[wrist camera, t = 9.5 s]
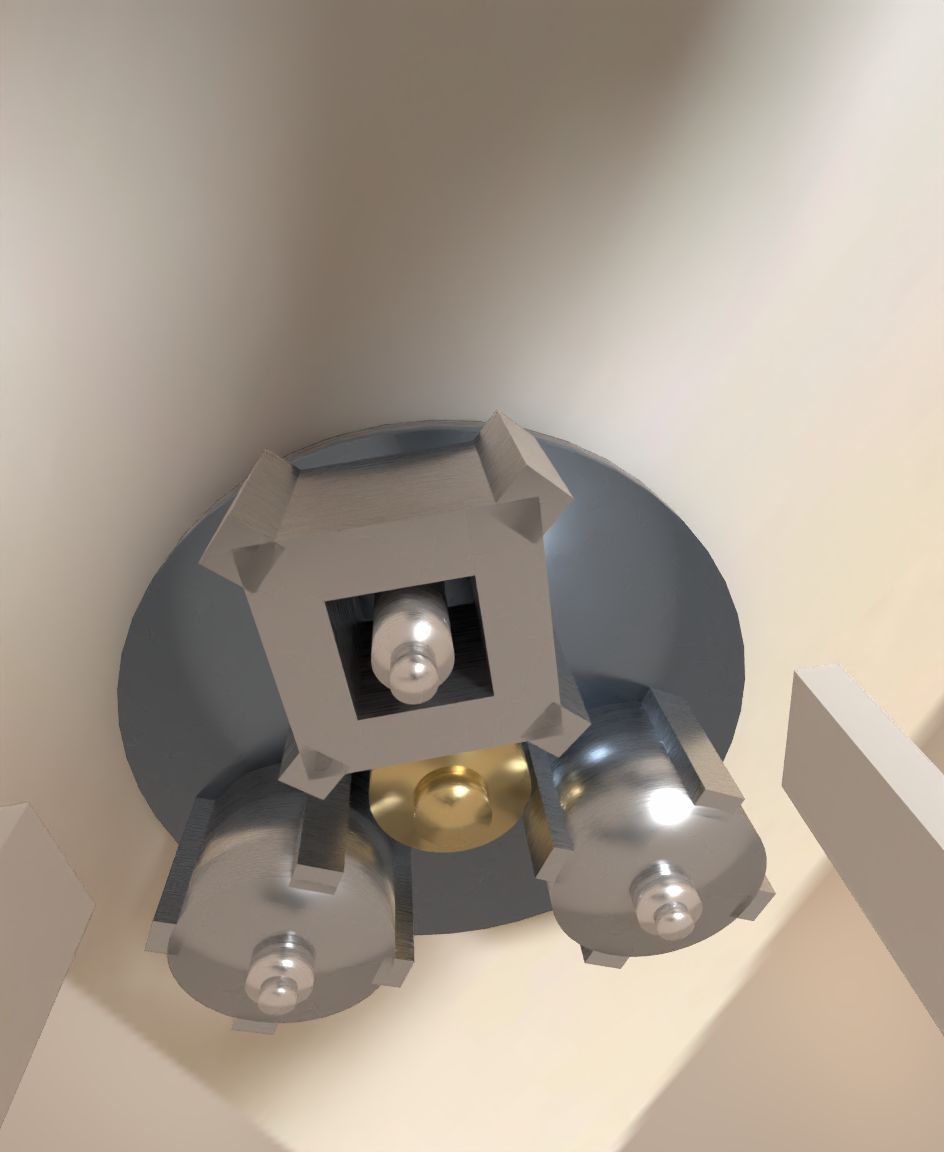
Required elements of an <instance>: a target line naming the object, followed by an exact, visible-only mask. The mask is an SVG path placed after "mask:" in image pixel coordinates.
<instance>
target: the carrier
mask: <svg viewBox="0 0 944 1152" xmlns="http://www.w3.org/2000/svg"><path fill="white" fill-rule="evenodd" d="M486 423H487V422H481V421H454V420H425V421H416V422H406V423H396V424H387V425H381V426H376V427H372V428H368V429H364V430H359V431H355V432H351V433H347V434H343V435H338V436H335V437H333V438H330V439H327V440H325V441H322V442H319V443H317V444H314V445H312V446H309V447H306V448H304V449H301V450H299V451H296V452H293V453H291V454H289V455H288V456H286V457H284V458H283V459H284V460H286V461H288V462H289V463H291V464H292V465H294V466H296V467H297V468H299V469H300V470H303V469H309V468H315V467H321V466H327V465H333V464H339V463H345V462H351V461H356V460H362V459H368V458H374V457H380V456H386V455H392V454H398V453H404V452H410V451H416V450H422V449H428V448H433V447H439V446H445V445H451V444H457V443H463V442H469V441H473V440H474V439H475V438H476V436H477V435H478V434H479V432H480V431H481V430H482V428H483V427H484V426H485V424H486ZM523 429H524V430H525V431H527V432H528V433H530V434H531V435H532V436H534V437H535V439H536V440H537V442H538V443H539V445H540V446H541V448H542V450H543V451H544V453H545V454H546V456H547V457H548V459H549V460H550V462H551V464H552V465H553V467H554V468H555V470H556V471H557V473H558V474H559V476H560V478H561V479H562V481H563V482H564V484H565V485H566V487H567V488H568V490H569V492H570V493H571V495H572V496H573V498H574V499H573V501H572V502H571V503H570V504H569V506H568V507H567V508H566V509H565V510H564V512H563V513H562V514H561V515H560V516H559V518H558V519H557V520H556V521H555V522H554V524H553V525H552V526H551V527H550V528H549V530H548V531H547V532H546V533H545V534H544V536H543V539H544V549H545V559H546V569H547V578H548V588H549V598H550V607H551V617H552V627H554V629H555V632H556V634H557V637H558V639H559V642H560V644H561V647H562V650H563V652H564V655H565V657H566V660H567V662H568V665H569V667H570V670H571V673H572V675H573V678H574V680H575V683H576V685H577V688H578V690H579V693H580V695H581V698H582V701H583V703H584V706H585V708H586V711H587V713H588V716H589V718H590V721H591V725H590V726H589V727H588V728H587V729H586V730H585V731H584V732H583V733H582V734H581V735H580V736H579V737H578V738H577V740H576V741H575V742H574V743H573V744H572V745H571V746H570V747H569V748H568V749H567V750H566V751H565V752H564V753H563V754H562V755H561V756H560V757H559V758H558V757H556V756H555V755H553V754H551V753H549V752H547V751H545V750H543V749H542V748H540V747H538V746H536V745H534V744H532V743H530V742H529V741H526V742H520V743H515V744H509V745H503V746H498V747H492V748H487V749H481V750H476V751H470V752H464V753H459V754H453V755H448V756H442V757H437V758H431V759H425V760H420V761H414V762H409V763H403V764H398V765H392V766H386V767H381V768H375V769H370V770H364V771H358V772H353V773H347V774H345V775H344V776H343V777H342V778H341V780H340V781H339V782H338V783H337V784H336V786H335V787H334V788H333V789H332V790H331V792H330V793H329V794H328V795H327V796H326V798H325V799H324V800H322V799H320V798H317V797H315V796H313V795H310V794H308V793H306V792H304V791H301V790H299V789H297V788H295V787H292V786H290V785H288V784H286V783H283V782H281V781H279V780H278V778H279V773H280V768H281V763H282V758H283V753H284V749H285V744H286V739H287V734H288V729H289V724H290V723H289V720H288V717H287V714H286V711H285V708H284V705H283V702H282V700H281V697H280V694H279V691H278V688H277V685H276V682H275V679H274V676H273V673H272V670H271V667H270V664H269V661H268V658H267V655H266V653H265V650H264V647H263V644H262V641H261V638H260V635H259V632H258V629H257V626H256V623H255V620H254V617H253V614H252V611H251V608H250V605H249V603H248V600H247V597H246V594H245V591H244V588H243V587H241V586H239V585H238V584H236V583H234V582H232V581H230V580H228V579H226V578H225V577H223V576H221V575H219V574H217V573H215V572H213V571H212V570H210V569H208V568H206V567H204V566H202V565H200V564H199V563H198V562H199V561H200V559H201V557H202V555H203V554H204V552H205V550H206V548H207V547H208V545H209V543H210V541H211V540H212V538H213V536H214V534H215V533H216V531H217V529H218V527H219V525H220V524H221V522H222V520H223V518H224V517H225V515H226V513H227V511H228V510H229V508H230V506H231V504H232V503H233V501H234V499H235V497H236V496H237V494H238V492H239V490H240V488H241V487H242V485H243V484H244V482H245V481H243V482H242V483H240V484H239V485H238V486H236V487H235V488H234V489H232V490H231V491H230V492H228V493H227V494H226V495H224V496H223V497H222V498H220V499H219V500H218V501H216V502H215V503H214V504H213V505H212V506H211V507H210V508H209V509H208V510H207V511H206V512H205V513H204V514H203V515H202V516H201V517H200V518H199V519H198V520H197V521H196V522H195V523H194V524H193V525H192V526H191V527H190V529H189V530H188V531H187V532H186V533H185V534H184V536H183V537H182V538H181V540H180V541H179V542H178V544H177V545H176V547H175V548H174V549H173V551H172V552H171V553H170V555H169V556H168V558H167V559H166V560H165V562H164V563H163V564H162V566H161V567H160V569H159V570H158V572H157V573H156V575H155V576H154V578H153V579H152V581H151V583H150V585H149V587H148V589H147V590H146V592H145V594H144V596H143V598H142V600H141V602H140V604H139V606H138V608H137V610H136V612H135V614H134V616H133V619H132V622H131V625H130V629H129V632H128V635H127V638H126V642H125V645H124V648H123V651H122V656H121V664H120V672H119V680H118V688H117V693H118V713H119V726H120V731H121V735H122V739H123V744H124V748H125V753H126V757H127V760H128V762H129V765H130V767H131V770H132V772H133V775H134V777H135V780H136V782H137V784H138V787H139V789H140V791H141V792H142V794H143V796H144V797H145V799H146V801H147V802H148V804H149V806H150V807H151V809H152V811H153V812H154V814H155V816H156V817H157V818H158V820H159V821H160V822H161V823H162V824H163V826H164V827H165V828H166V829H167V831H168V832H169V833H170V834H171V835H172V837H173V838H174V839H175V840H176V842H177V843H178V844H179V847H178V850H177V852H176V855H175V858H174V861H173V864H172V867H171V870H170V873H169V876H168V879H167V882H166V885H165V888H164V890H163V893H162V896H161V899H160V902H159V905H158V908H157V911H156V914H155V917H154V920H153V923H152V926H151V930H150V933H149V937H148V940H147V943H146V947H145V950H144V951H150V952H157V953H164V954H167V958H168V963H169V967H170V970H171V972H172V974H173V976H174V978H175V979H176V981H177V982H178V984H179V985H180V986H181V987H182V988H183V989H184V990H185V991H186V993H188V994H189V995H190V996H191V997H193V998H194V999H195V1000H197V1001H198V1002H200V1003H201V1004H203V1005H205V1006H206V1007H209V1008H211V1009H213V1010H215V1011H217V1012H220V1013H223V1014H225V1015H228V1016H232V1017H234V1019H233V1024H232V1029H231V1030H239V1031H247V1032H256V1033H264V1034H272V1035H273V1033H274V1031H275V1028H276V1026H277V1024H278V1023H290V1022H301V1021H308V1020H314V1019H318V1018H322V1017H326V1016H329V1015H332V1014H335V1013H338V1012H341V1011H343V1010H345V1009H348V1008H350V1007H352V1006H354V1005H355V1004H357V1003H359V1002H361V1001H362V1000H364V999H365V998H367V997H368V996H369V995H371V994H372V993H373V992H374V991H375V990H376V989H377V988H378V987H379V986H380V985H386V986H393V987H401V985H402V983H403V981H404V979H405V977H406V976H407V974H408V972H409V970H410V968H411V966H412V964H413V963H414V940H413V935H432V934H449V933H458V932H465V931H472V930H479V929H486V928H490V927H495V926H499V925H503V924H508V923H512V922H516V921H520V920H523V919H526V918H529V917H532V916H535V915H539V914H542V913H545V912H548V911H551V910H553V912H554V916H555V918H556V920H557V922H558V924H559V926H560V927H561V928H562V930H563V931H564V932H565V933H566V934H567V935H568V936H569V937H570V938H571V939H573V940H574V941H576V942H577V943H579V944H580V946H581V950H582V954H583V958H584V962H585V963H588V964H594V965H600V966H606V967H612V968H618V969H621V968H622V966H623V965H624V964H625V962H626V961H627V959H628V958H629V957H638V956H651V955H658V954H663V953H668V952H672V951H676V950H679V949H682V948H685V947H688V946H691V945H693V944H696V943H698V942H700V941H702V940H704V939H706V938H708V937H710V936H712V935H714V934H715V933H717V932H719V931H720V930H722V929H723V928H725V927H726V926H727V925H729V924H730V923H731V922H733V921H734V920H735V919H736V918H740V919H745V920H751V921H754V920H755V919H756V917H757V916H758V915H759V914H760V912H761V911H762V910H763V909H764V908H765V906H766V905H767V904H768V903H769V901H770V900H771V899H772V898H773V897H774V895H775V894H776V893H775V891H774V890H773V888H772V886H771V884H770V882H769V881H768V879H767V877H766V875H765V872H766V853H765V848H764V846H763V843H762V841H761V839H760V837H759V835H758V834H757V832H756V830H755V829H754V827H753V825H752V823H751V822H750V820H749V818H748V817H747V815H746V813H745V812H744V810H743V808H742V807H741V804H742V802H743V801H744V799H745V798H744V797H743V795H742V793H741V792H740V790H739V788H738V787H737V785H736V783H735V782H734V780H733V778H732V777H731V775H730V773H729V772H728V770H727V768H726V767H725V765H724V764H723V761H724V758H725V756H726V754H727V752H728V749H729V747H730V745H731V743H732V740H733V736H734V733H735V729H736V726H737V722H738V719H739V715H740V712H741V705H742V697H743V690H744V682H745V667H744V645H743V639H742V634H741V629H740V624H739V619H738V614H737V611H736V609H735V606H734V603H733V601H732V598H731V595H730V593H729V590H728V587H727V585H726V582H725V580H724V578H723V577H722V575H721V573H720V572H719V570H718V568H717V566H716V565H715V563H714V561H713V559H712V558H711V556H710V554H709V553H708V551H707V550H706V548H705V547H704V546H703V545H702V543H701V542H700V541H699V540H698V539H697V537H696V536H695V535H694V534H693V533H692V531H691V530H690V529H689V528H688V526H687V525H686V524H685V523H684V522H683V520H682V519H681V518H680V517H679V516H678V515H677V514H676V513H675V512H674V511H673V510H672V509H671V508H670V507H669V506H668V505H667V504H666V503H664V502H663V501H662V500H661V499H660V498H659V497H658V496H657V495H655V494H654V493H653V492H652V491H651V490H650V489H649V488H648V487H646V486H645V485H644V484H643V483H642V482H641V481H639V480H638V479H636V478H635V477H633V476H632V475H630V474H628V473H627V472H625V471H624V470H622V469H621V468H619V467H618V466H616V465H615V464H613V463H611V462H610V461H608V460H607V459H605V458H603V457H600V456H598V455H596V454H594V453H592V452H590V451H587V450H585V449H583V448H581V447H579V446H577V445H574V444H572V443H570V442H568V441H565V440H561V439H558V438H555V437H551V436H548V435H545V434H541V433H538V432H535V431H531V430H528V429H525V428H523ZM358 597H359V601H360V605H361V609H362V613H363V616H364V620H365V621H369V620H373V634H372V653H371V664H372V669H373V672H374V674H375V675H376V677H377V678H378V680H379V681H380V682H381V683H382V684H383V685H385V686H386V687H388V688H389V689H391V692H392V694H393V695H394V697H395V698H396V699H398V700H399V701H401V702H403V703H406V704H420V703H424V702H426V701H428V700H429V699H431V698H432V697H433V696H434V695H435V693H436V691H437V689H438V686H439V685H441V684H442V683H443V682H444V681H445V680H446V679H447V678H448V676H449V675H450V673H451V671H452V669H453V666H454V659H455V657H454V649H453V642H452V634H451V627H450V620H449V613H448V607H449V606H455V605H461V604H467V603H472V602H474V596H473V590H472V584H471V577H470V576H468V577H462V578H457V579H451V580H445V581H439V582H434V583H428V584H422V585H416V586H411V587H405V588H399V589H393V590H387V591H382V592H376V593H370V594H364V595H359V596H358Z"/></svg>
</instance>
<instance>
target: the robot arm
mask: <svg viewBox="0 0 944 1152" xmlns="http://www.w3.org/2000/svg"><path fill="white" fill-rule="evenodd" d="M782 787H783V789H784V790H785V792H786V793H787V795H788V796H789V798H790V800H791V801H792V803H793V804H794V806H795V807H796V809H797V810H798V812H799V813H800V815H801V817H802V818H803V820H804V821H805V823H806V824H807V826H808V827H809V829H810V830H811V832H812V833H813V835H814V837H815V838H816V840H817V841H818V843H819V844H820V846H821V847H822V849H823V850H824V852H825V854H826V855H827V857H828V858H829V860H830V861H831V863H832V864H833V866H834V867H835V869H836V871H837V872H838V873H839V875H840V877H841V878H842V880H843V881H844V883H845V884H846V886H847V887H848V889H849V891H850V892H851V894H852V895H853V897H854V898H855V900H856V901H857V903H858V904H859V906H860V908H861V909H862V911H863V912H864V914H865V915H866V917H867V918H868V920H869V921H870V923H871V924H872V926H873V928H874V929H875V931H876V932H877V934H878V935H879V937H880V938H881V940H882V941H883V943H884V945H885V946H886V948H887V949H888V951H889V952H890V954H891V955H892V957H893V958H894V960H895V962H896V963H897V965H898V966H899V967H900V969H901V971H902V972H903V974H904V975H905V977H906V978H907V980H908V982H909V983H910V985H911V986H912V988H913V989H914V991H915V992H916V994H917V995H918V997H919V999H920V1000H921V1002H922V1003H923V1005H924V1006H925V1008H926V1009H927V1011H928V1012H929V1014H930V1016H931V1017H932V1019H933V1020H934V1022H935V1023H936V1024H937V1026H938V1028H939V1029H940V1031H941V1032H942V1034H943V1036H944V775H943V774H942V773H941V772H940V771H939V770H938V768H937V767H936V766H935V765H934V764H933V763H932V762H931V761H930V760H929V759H928V758H927V757H926V756H925V755H924V754H923V752H922V751H921V750H920V749H919V748H918V747H917V746H916V745H915V744H914V743H913V742H912V741H911V740H910V739H909V738H908V737H907V735H906V734H905V733H904V732H903V731H902V730H901V729H900V728H899V727H898V726H897V725H896V724H895V723H894V722H893V721H892V720H891V718H890V717H889V716H888V715H887V714H886V713H885V712H884V711H883V710H882V709H881V708H880V707H879V706H878V705H877V704H876V702H875V701H874V700H873V699H872V698H871V697H870V696H869V695H868V694H867V693H866V692H865V691H864V690H863V689H862V688H861V687H860V685H859V684H858V683H857V682H856V681H855V680H854V679H853V678H852V677H851V676H850V675H849V674H848V673H847V672H846V671H845V670H844V668H843V667H842V666H841V665H840V664H839V663H834V664H829V665H823V666H817V667H811V668H805V669H799V670H794V677H793V686H792V695H791V705H790V714H789V723H788V732H787V741H786V751H785V760H784V769H783V778H782ZM95 906H96V905H95V903H94V902H93V900H92V899H91V897H90V895H89V894H88V892H87V891H86V889H85V888H84V886H83V885H82V883H81V881H80V880H79V878H78V877H77V875H76V874H75V872H74V871H73V869H72V867H71V866H70V864H69V863H68V861H67V860H66V858H65V857H64V855H63V853H62V852H61V850H60V849H59V847H58V846H57V844H56V843H55V841H54V839H53V838H52V836H51V835H50V833H49V832H48V830H47V828H46V827H45V825H44V824H43V822H42V821H41V819H40V818H39V816H38V814H37V813H36V811H35V810H34V808H33V807H32V805H31V804H30V802H26V803H20V804H15V805H9V806H3V807H0V1128H1V1125H2V1123H3V1121H4V1118H5V1116H6V1114H7V1111H8V1109H9V1107H10V1104H11V1102H12V1100H13V1097H14V1095H15V1093H16V1090H17V1088H18V1086H19V1083H20V1081H21V1079H22V1076H23V1074H24V1072H25V1069H26V1067H27V1065H28V1062H29V1060H30V1058H31V1055H32V1053H33V1050H34V1048H35V1046H36V1044H37V1041H38V1039H39V1037H40V1034H41V1032H42V1030H43V1027H44V1025H45V1023H46V1020H47V1018H48V1016H49V1013H50V1011H51V1008H52V1006H53V1004H54V1002H55V999H56V997H57V995H58V992H59V990H60V988H61V985H62V983H63V981H64V978H65V976H66V974H67V971H68V969H69V967H70V964H71V962H72V960H73V957H74V955H75V953H76V950H77V948H78V946H79V943H80V941H81V939H82V936H83V934H84V932H85V929H86V927H87V925H88V922H89V920H90V918H91V915H92V913H93V911H94V908H95Z"/></svg>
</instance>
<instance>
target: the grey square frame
mask: <svg viewBox="0 0 944 1152" xmlns="http://www.w3.org/2000/svg"><path fill="white" fill-rule="evenodd" d="M573 499H574V498H573V496H572V495H571V493H570V492H569V490H568V488H567V487H566V485H565V484H564V482H563V481H562V479H561V478H560V476H559V474H558V473H557V471H556V470H555V468H554V467H553V465H552V464H551V462H550V460H549V459H548V457H547V456H546V454H545V453H544V451H543V450H542V448H541V446H540V445H539V443H538V442H537V440H536V439H535V437H534V436H532V435H531V434H530V433H528V432H527V431H525V430H524V429H523V428H521V427H520V426H519V425H517V424H516V423H515V422H513V421H512V420H511V419H509V418H508V417H507V416H505V415H504V414H502V413H501V412H500V411H498V410H496V411H495V412H494V414H493V415H492V416H491V418H490V419H489V420H488V422H487V423H486V424H485V426H484V427H483V428H482V430H481V431H480V432H479V434H478V435H477V436H476V438H475V439H474V440H473V441H469V442H463V443H457V444H451V445H445V446H439V447H433V448H428V449H422V450H416V451H410V452H404V453H398V454H392V455H386V456H380V457H374V458H368V459H362V460H356V461H351V462H345V463H339V464H333V465H327V466H321V467H315V468H309V469H303V470H300V469H299V468H297V467H296V466H294V465H292V464H291V463H289V462H288V461H286V460H284V459H283V458H281V457H279V456H278V455H276V454H275V453H273V452H271V451H270V450H268V449H267V448H266V449H265V450H264V452H263V454H262V455H261V457H260V458H259V460H258V461H257V463H256V465H255V466H254V468H253V469H252V471H251V472H250V474H249V476H248V477H247V479H246V480H245V482H244V484H243V485H242V487H241V488H240V490H239V492H238V494H237V496H236V497H235V499H234V501H233V503H232V504H231V506H230V508H229V510H228V511H227V513H226V515H225V517H224V518H223V520H222V522H221V524H220V525H219V527H218V529H217V531H216V533H215V534H214V536H213V538H212V540H211V541H210V543H209V545H208V547H207V548H206V550H205V552H204V554H203V555H202V557H201V559H200V561H199V562H198V563H199V564H200V565H202V566H204V567H206V568H208V569H210V570H212V571H213V572H215V573H217V574H219V575H221V576H223V577H225V578H226V579H228V580H230V581H232V582H234V583H236V584H238V585H239V586H241V587H243V588H244V591H245V594H246V597H247V600H248V603H249V605H250V608H251V611H252V614H253V617H254V620H255V623H256V626H257V629H258V632H259V635H260V638H261V641H262V644H263V647H264V650H265V653H266V655H267V658H268V661H269V664H270V667H271V670H272V673H273V676H274V679H275V682H276V685H277V688H278V691H279V694H280V697H281V700H282V702H283V705H284V708H285V711H286V714H287V717H288V720H289V723H290V724H289V729H288V734H287V739H286V744H285V749H284V753H283V758H282V763H281V768H280V773H279V778H278V780H279V781H281V782H283V783H286V784H288V785H290V786H292V787H295V788H297V789H299V790H301V791H304V792H306V793H308V794H310V795H313V796H315V797H317V798H320V799H322V800H324V799H325V798H326V796H327V795H328V794H329V793H330V792H331V790H332V789H333V788H334V787H335V786H336V784H337V783H338V782H339V781H340V780H341V778H342V777H343V776H344V775H345V774H347V773H353V772H358V771H364V770H370V769H375V768H381V767H386V766H392V765H398V764H403V763H409V762H414V761H420V760H425V759H431V758H437V757H442V756H448V755H453V754H459V753H464V752H470V751H476V750H481V749H487V748H492V747H498V746H503V745H509V744H515V743H520V742H526V741H529V742H530V743H532V744H534V745H536V746H538V747H540V748H542V749H543V750H545V751H547V752H549V753H551V754H553V755H555V756H556V757H558V758H559V757H560V756H561V755H562V754H563V753H564V752H565V751H566V750H567V749H568V748H569V747H570V746H571V745H572V744H573V743H574V742H575V741H576V740H577V738H578V737H579V736H580V735H581V734H582V733H583V732H584V731H585V730H586V729H587V728H588V727H589V726H590V725H591V721H590V718H589V716H588V713H587V711H586V708H585V706H584V703H583V701H582V698H581V695H580V693H579V690H578V688H577V685H576V683H575V680H574V678H573V675H572V673H571V670H570V667H569V665H568V662H567V660H566V657H565V655H564V652H563V650H562V647H561V644H560V642H559V639H558V637H557V634H556V632H555V629H554V627H552V617H551V607H550V598H549V588H548V578H547V569H546V559H545V549H544V539H543V536H544V534H545V533H546V532H547V531H548V530H549V528H550V527H551V526H552V525H553V524H554V522H555V521H556V520H557V519H558V518H559V516H560V515H561V514H562V513H563V512H564V510H565V509H566V508H567V507H568V506H569V504H570V503H571V502H572V501H573ZM468 576H470V577H471V584H472V590H473V596H474V602H472V603H467V604H461V605H455V606H449V607H448V613H449V620H450V627H451V634H452V642H453V649H454V657H455V659H454V666H453V669H452V671H451V673H450V675H449V676H448V678H447V679H446V680H445V681H444V682H443V683H442V684H441V685H439V686H438V689H437V691H436V693H435V695H434V696H433V697H432V698H431V699H429V700H428V701H426V702H424V703H420V704H406V703H403V702H401V701H399V700H398V699H396V698H395V697H394V695H393V694H392V692H391V689H389V688H388V687H386V686H385V685H383V684H382V683H381V682H380V681H379V680H378V678H377V677H376V675H375V674H374V672H373V669H372V664H371V653H372V634H373V620H369V621H365V620H364V616H363V613H362V609H361V605H360V601H359V597H358V596H359V595H364V594H370V593H376V592H382V591H387V590H393V589H399V588H405V587H411V586H416V585H422V584H428V583H434V582H439V581H445V580H451V579H457V578H462V577H468Z"/></svg>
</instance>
